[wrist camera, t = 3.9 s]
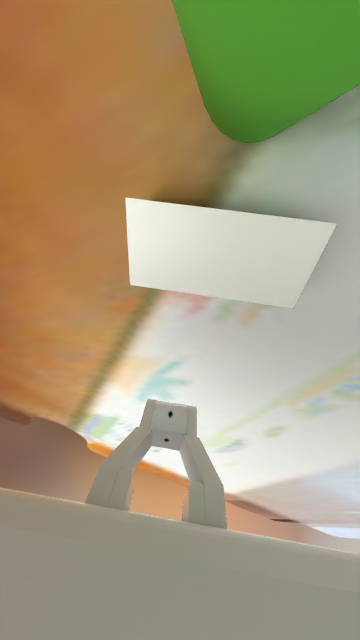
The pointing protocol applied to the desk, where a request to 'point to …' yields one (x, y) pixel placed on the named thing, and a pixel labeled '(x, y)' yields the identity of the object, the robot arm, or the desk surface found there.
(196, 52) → the cup
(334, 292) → the desk surface
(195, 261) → the eraser
